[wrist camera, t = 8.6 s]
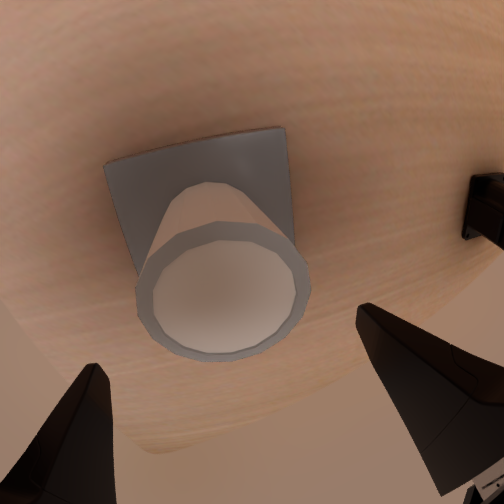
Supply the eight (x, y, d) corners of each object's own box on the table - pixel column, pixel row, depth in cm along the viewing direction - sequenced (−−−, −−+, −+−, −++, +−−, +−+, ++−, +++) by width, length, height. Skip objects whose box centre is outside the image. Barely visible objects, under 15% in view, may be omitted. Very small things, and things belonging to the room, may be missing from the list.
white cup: (238, 148, 15) (273, 184, 9) (285, 246, 19) (330, 321, 13) (128, 209, 15) (97, 281, 9) (189, 294, 19) (196, 382, 13)
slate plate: (279, 126, 16) (284, 127, 15) (292, 271, 21) (296, 278, 20) (107, 162, 15) (102, 166, 14) (153, 301, 20) (152, 310, 19)
